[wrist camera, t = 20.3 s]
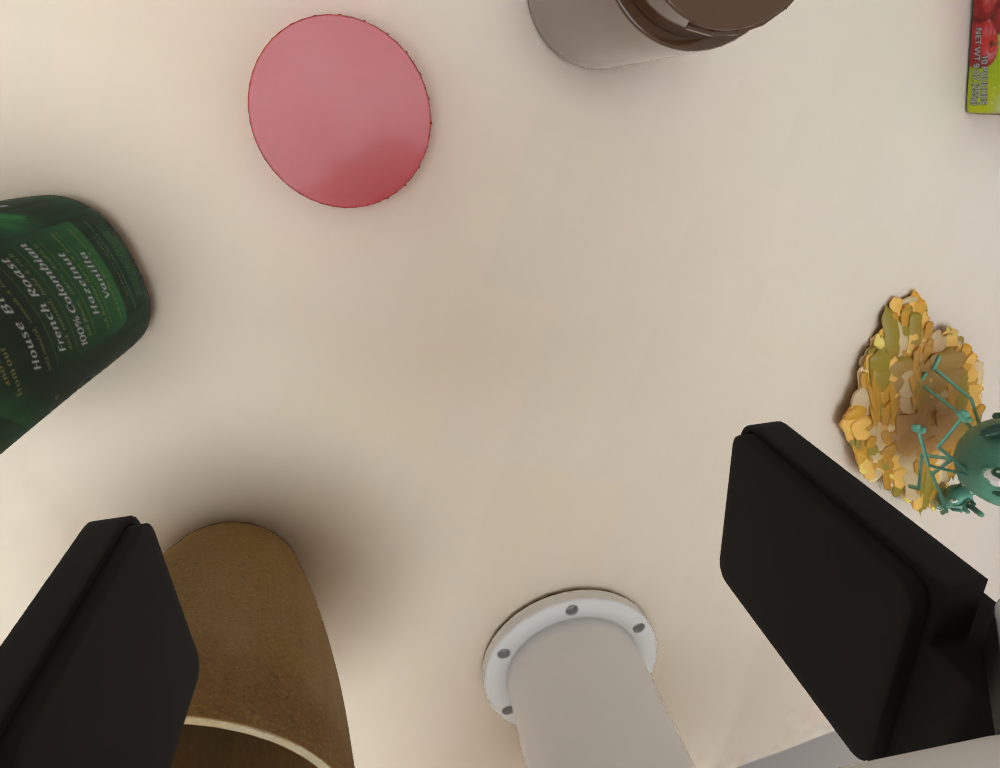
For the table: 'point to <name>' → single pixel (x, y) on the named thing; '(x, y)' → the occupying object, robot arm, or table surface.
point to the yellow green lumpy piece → (923, 414)
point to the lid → (339, 111)
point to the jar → (644, 27)
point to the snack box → (985, 59)
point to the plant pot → (255, 656)
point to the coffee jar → (60, 305)
